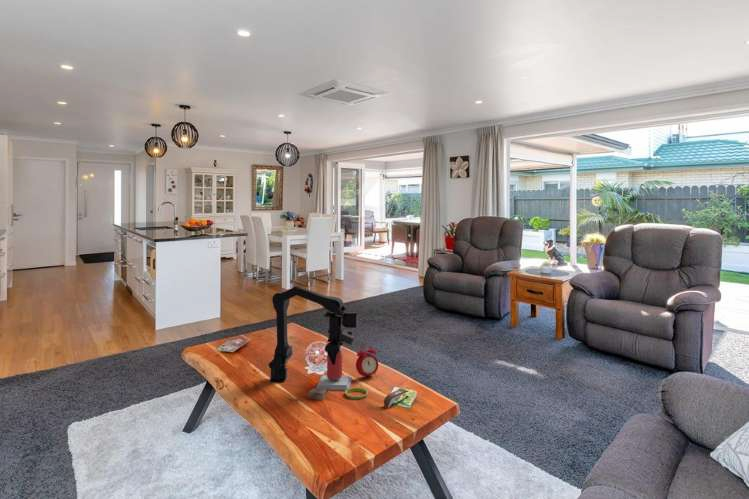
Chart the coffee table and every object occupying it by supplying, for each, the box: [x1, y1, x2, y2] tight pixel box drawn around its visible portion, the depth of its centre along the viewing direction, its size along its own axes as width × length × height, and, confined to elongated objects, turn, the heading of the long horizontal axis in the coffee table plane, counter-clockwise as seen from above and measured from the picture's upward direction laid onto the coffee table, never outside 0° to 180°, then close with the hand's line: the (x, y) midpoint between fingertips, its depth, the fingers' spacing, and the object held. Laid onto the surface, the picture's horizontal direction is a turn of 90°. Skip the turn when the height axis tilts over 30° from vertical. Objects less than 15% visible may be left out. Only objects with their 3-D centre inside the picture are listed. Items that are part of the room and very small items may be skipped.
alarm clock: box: [355, 343, 379, 380], centre depth 192 cm, size 10×6×15 cm, turn 117°
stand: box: [315, 374, 353, 392], centre depth 182 cm, size 14×14×2 cm
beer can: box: [326, 349, 343, 380], centre depth 182 cm, size 7×7×12 cm
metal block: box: [308, 387, 327, 401], centre depth 168 cm, size 6×4×3 cm, turn 75°
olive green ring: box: [344, 387, 369, 400], centre depth 171 cm, size 9×9×9 cm
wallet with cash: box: [382, 388, 409, 409], centre depth 169 cm, size 15×3×8 cm, turn 138°
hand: (334, 362), depth 182 cm, fingers closed on beer can, 6 cm apart
